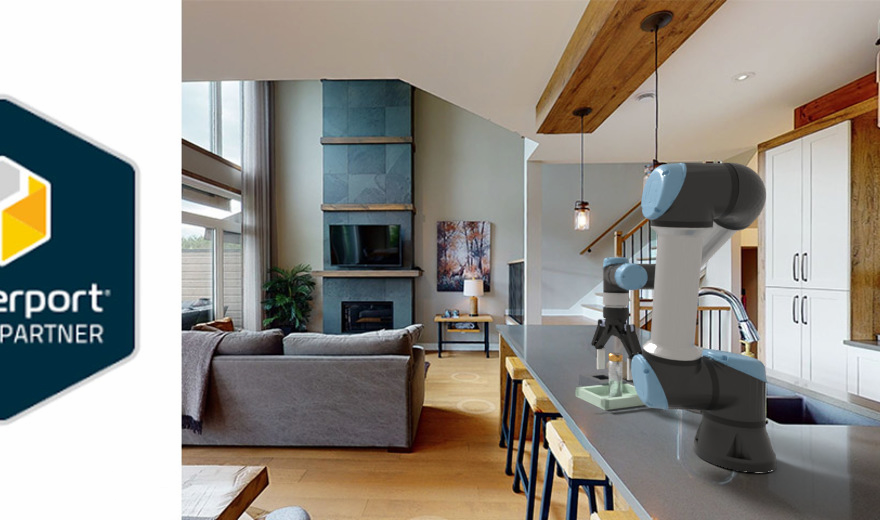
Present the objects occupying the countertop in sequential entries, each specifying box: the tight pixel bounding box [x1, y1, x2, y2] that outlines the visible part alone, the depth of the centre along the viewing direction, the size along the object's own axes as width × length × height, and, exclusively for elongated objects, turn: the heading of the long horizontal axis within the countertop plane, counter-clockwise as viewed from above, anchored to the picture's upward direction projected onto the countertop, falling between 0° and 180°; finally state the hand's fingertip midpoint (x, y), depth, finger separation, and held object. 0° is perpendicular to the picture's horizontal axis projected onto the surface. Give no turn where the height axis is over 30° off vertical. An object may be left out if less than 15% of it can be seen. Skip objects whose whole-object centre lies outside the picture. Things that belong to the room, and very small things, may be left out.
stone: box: [605, 360, 627, 380], centre depth 159 cm, size 10×7×10 cm
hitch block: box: [578, 371, 628, 387], centre depth 146 cm, size 12×10×4 cm
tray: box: [575, 382, 646, 411], centre depth 133 cm, size 20×14×3 cm
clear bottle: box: [608, 352, 624, 398], centre depth 133 cm, size 4×4×14 cm
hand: (615, 374), depth 133 cm, fingers open, 13 cm apart
